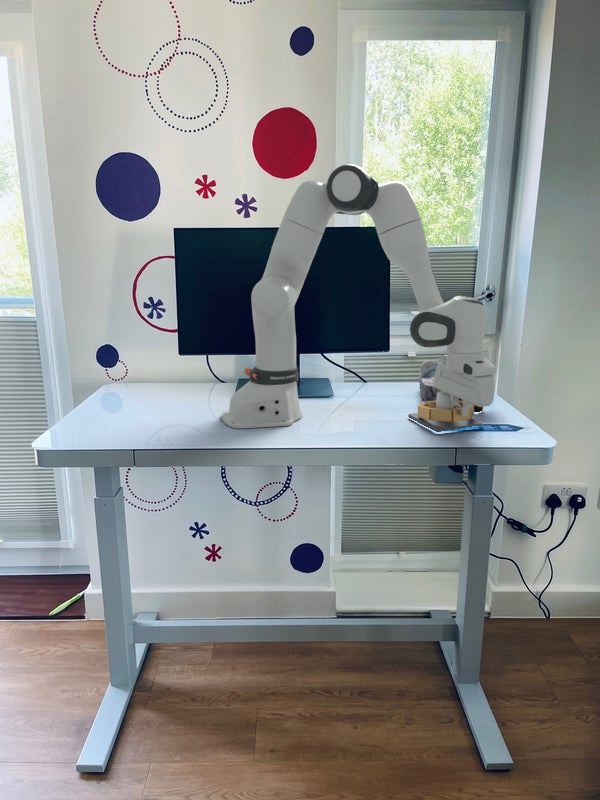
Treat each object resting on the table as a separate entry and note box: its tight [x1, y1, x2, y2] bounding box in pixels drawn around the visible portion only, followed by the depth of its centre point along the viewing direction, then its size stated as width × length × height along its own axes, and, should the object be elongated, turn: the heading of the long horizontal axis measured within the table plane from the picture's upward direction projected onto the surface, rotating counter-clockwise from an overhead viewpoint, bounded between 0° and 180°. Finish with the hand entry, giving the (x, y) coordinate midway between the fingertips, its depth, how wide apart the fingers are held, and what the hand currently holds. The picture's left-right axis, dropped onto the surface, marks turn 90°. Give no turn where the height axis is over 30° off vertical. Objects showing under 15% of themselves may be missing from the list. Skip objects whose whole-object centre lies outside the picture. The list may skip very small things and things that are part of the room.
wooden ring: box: [417, 400, 475, 422], centre depth 157 cm, size 14×14×3 cm
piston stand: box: [407, 391, 484, 432], centre depth 157 cm, size 14×14×8 cm
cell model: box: [418, 360, 459, 402], centre depth 180 cm, size 13×11×20 cm
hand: (459, 413), depth 151 cm, fingers closed on wooden ring, 2 cm apart
